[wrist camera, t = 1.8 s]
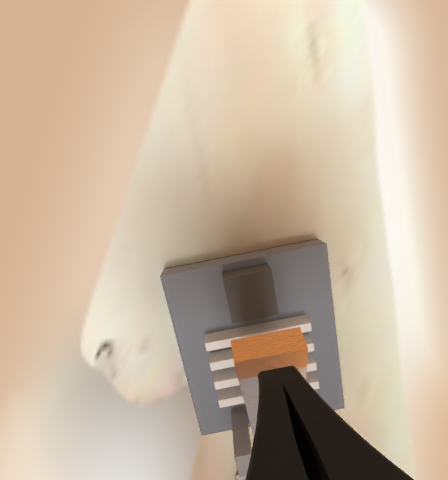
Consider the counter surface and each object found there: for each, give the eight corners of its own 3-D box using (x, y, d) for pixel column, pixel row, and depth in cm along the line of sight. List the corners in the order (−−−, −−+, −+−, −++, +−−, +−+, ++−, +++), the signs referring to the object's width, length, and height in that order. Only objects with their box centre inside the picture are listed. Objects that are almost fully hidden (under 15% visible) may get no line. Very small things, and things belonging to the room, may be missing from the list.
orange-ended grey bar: (296, 425, 19) (301, 442, 18) (254, 433, 19) (257, 451, 18) (299, 327, 11) (308, 348, 11) (230, 340, 11) (234, 363, 11)
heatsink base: (335, 392, 22) (371, 454, 17) (202, 418, 22) (199, 487, 17) (317, 238, 19) (354, 259, 14) (164, 269, 19) (147, 299, 14)
